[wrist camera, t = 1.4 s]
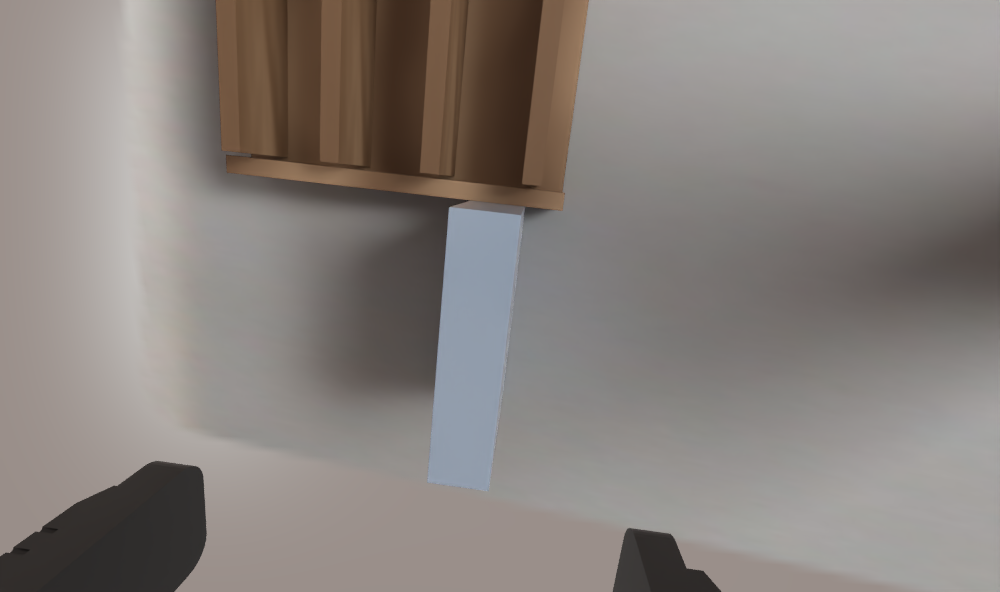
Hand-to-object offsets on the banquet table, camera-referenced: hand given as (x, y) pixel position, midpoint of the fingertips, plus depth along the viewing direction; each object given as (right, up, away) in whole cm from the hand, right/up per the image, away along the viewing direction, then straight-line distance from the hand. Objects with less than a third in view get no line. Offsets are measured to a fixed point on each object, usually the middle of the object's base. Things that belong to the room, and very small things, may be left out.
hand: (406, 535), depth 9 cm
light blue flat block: (+1, +4, +17) cm, 18 cm away
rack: (-2, +17, +14) cm, 23 cm away
